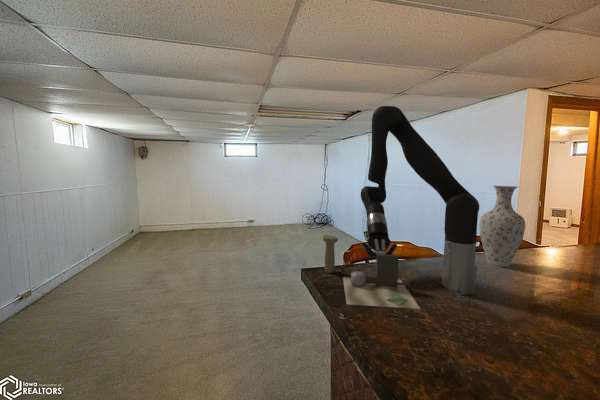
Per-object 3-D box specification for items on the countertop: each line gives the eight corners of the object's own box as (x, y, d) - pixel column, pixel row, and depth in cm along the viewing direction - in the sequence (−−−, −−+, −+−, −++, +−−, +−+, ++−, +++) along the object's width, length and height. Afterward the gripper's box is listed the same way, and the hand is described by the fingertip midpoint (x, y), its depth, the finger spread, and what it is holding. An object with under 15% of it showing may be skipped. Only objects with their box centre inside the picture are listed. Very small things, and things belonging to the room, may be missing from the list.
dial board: (400, 283, 98) (400, 279, 98) (420, 312, 77) (420, 308, 77) (342, 280, 100) (342, 276, 100) (346, 308, 80) (346, 303, 79)
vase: (518, 262, 122) (526, 186, 119) (524, 273, 109) (533, 187, 105) (476, 256, 131) (482, 184, 127) (476, 266, 117) (483, 186, 114)
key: (351, 286, 92) (352, 256, 90) (350, 280, 97) (351, 251, 95) (410, 289, 90) (412, 258, 88) (406, 283, 94) (408, 254, 93)
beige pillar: (329, 278, 102) (330, 239, 100) (319, 272, 107) (320, 236, 106) (339, 275, 104) (340, 238, 103) (329, 270, 110) (330, 234, 108)
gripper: (360, 220, 102) (363, 262, 92) (396, 221, 101) (403, 264, 90) (358, 231, 108) (361, 272, 97) (392, 232, 107) (398, 273, 96)
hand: (381, 268), depth 94 cm, fingers closed
